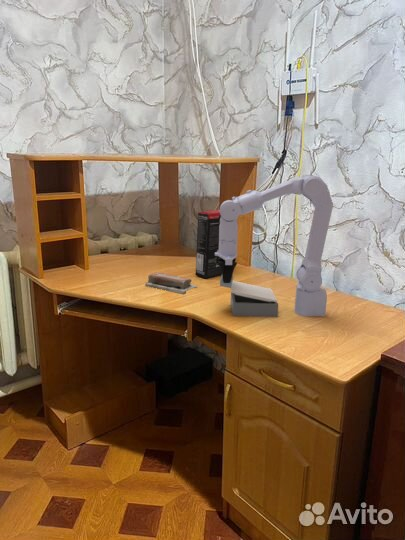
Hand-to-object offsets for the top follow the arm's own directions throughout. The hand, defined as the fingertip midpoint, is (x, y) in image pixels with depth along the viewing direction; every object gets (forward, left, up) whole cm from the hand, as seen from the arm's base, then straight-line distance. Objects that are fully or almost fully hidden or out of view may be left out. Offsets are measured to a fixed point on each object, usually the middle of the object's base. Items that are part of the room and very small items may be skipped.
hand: (226, 281), depth 134 cm
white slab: (-6, 0, -4) cm, 7 cm away
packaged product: (+20, -25, -11) cm, 34 cm away
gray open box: (-9, 0, -10) cm, 14 cm away
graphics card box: (+2, -44, -11) cm, 45 cm away
